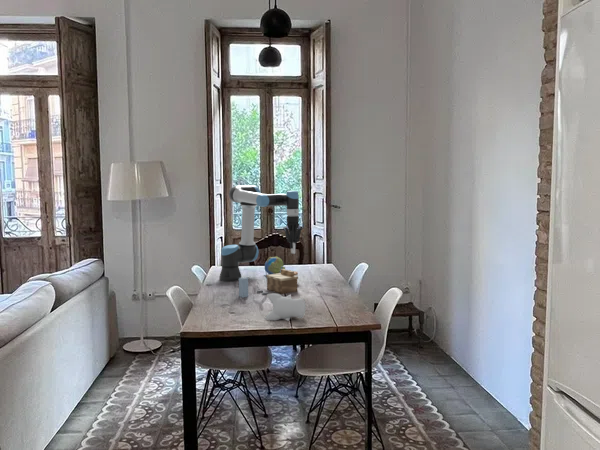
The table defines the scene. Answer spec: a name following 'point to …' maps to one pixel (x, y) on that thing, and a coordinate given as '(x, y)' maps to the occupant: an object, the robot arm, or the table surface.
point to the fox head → (285, 307)
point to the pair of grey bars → (263, 292)
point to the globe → (274, 265)
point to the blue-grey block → (243, 287)
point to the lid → (283, 275)
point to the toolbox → (282, 285)
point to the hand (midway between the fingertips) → (293, 253)
